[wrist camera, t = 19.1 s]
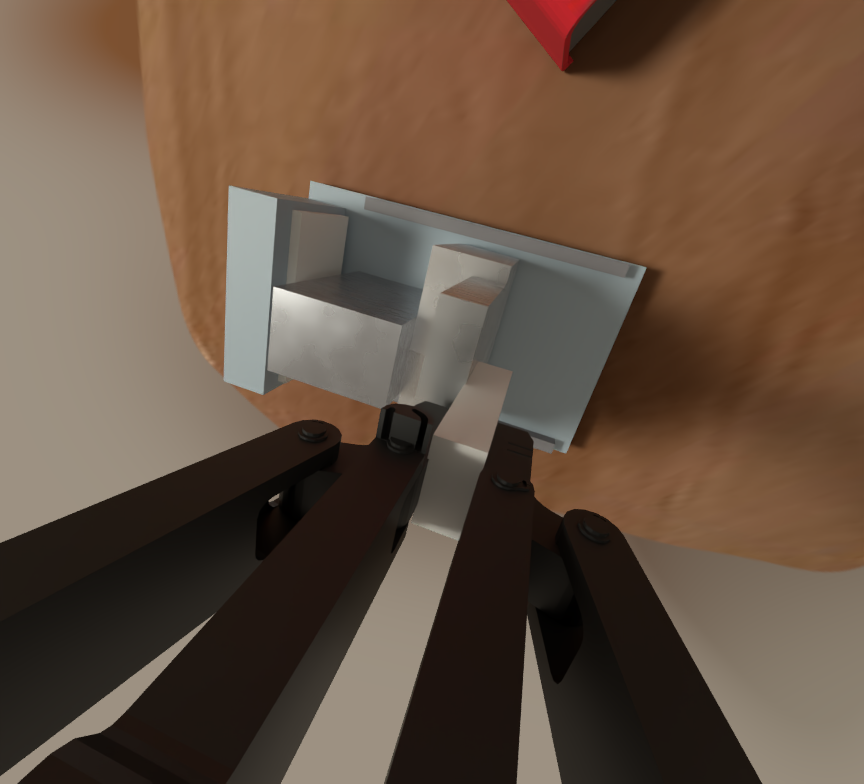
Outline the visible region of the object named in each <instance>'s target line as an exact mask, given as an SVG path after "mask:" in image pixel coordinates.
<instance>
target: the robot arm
mask: <svg viewBox="0 0 864 784" xmlns="http://www.w3.org/2000/svg"><path fill="white" fill-rule="evenodd" d="M512 372H513V371H510V370H506V369H503V368H499V367H496V366H493V365H489V364H486V363H482V362H479V361H478V363H477V364H476V366H475V368H474V370H473V372H472V374H471V375H470V377H469V379H468V381H467V383H466V385H465V384H464V385H463V387H462V389H461V390H460V392H459V394H458V395H457V397H456V398H455V400H454V402H453V403H452V405H451V407H450V408H447V407H444V406H441V405H438V404H435V403H431V402H428V401H424V402H422V403H419V404H416V405H415V406H411V405H407V404H390V405H386V406H384V407H382V408H381V412H380V418H379V423H378V428H377V434H376V438H375V439H374V440H373V441H372V442H371V443H370V444H369V445H355V444H348V443H341V436H342V435H341V433H340V431H339V429H338V428H336V427H335V426H334V425H332V424H329V423H326V422H324V421H320V420H319V421H318V420H302V421H298V422H295V423H292V424H289V425H287V426H285V427H282V428H280V429H277V430H275V431H273V432H270V433H268V434H265V435H263V436H260V437H258V438H255V439H253V440H251V441H248V442H246V443H244V444H241V445H238V446H236V447H233V448H231V449H228V450H226V451H224V452H221V453H219V454H216V455H214V456H212V457H209V458H207V459H204V460H202V461H199V462H197V463H194V464H192V465H189V466H187V467H185V468H182V469H180V470H177V471H175V472H172V473H170V474H168V475H165V476H163V477H160V478H158V479H155V480H153V481H150V482H148V483H146V484H143V485H141V486H138V487H136V488H133V489H131V490H128V491H126V492H124V493H121V494H119V495H116V496H114V497H112V498H109V499H107V500H104V501H102V502H99V503H97V504H94V505H92V506H89V507H87V508H85V509H82V510H80V511H77V512H75V513H72V514H70V515H68V516H65V517H63V518H61V519H58V520H56V521H53V522H50V523H48V524H46V525H43V526H41V527H38V528H36V529H34V530H31V531H29V532H27V533H24V534H22V535H19V536H16V537H14V538H11V539H9V540H7V541H4V542H2V543H0V776H1V775H2V774H4V773H5V772H6V771H7V770H9V769H10V768H12V767H13V766H14V765H16V764H17V763H18V762H19V761H21V760H22V759H23V758H25V757H26V756H27V755H29V754H30V753H31V752H32V751H34V750H35V749H37V748H38V747H39V746H40V745H42V744H43V743H44V742H46V741H47V740H48V739H50V738H51V737H52V736H54V735H55V734H56V733H57V732H59V731H60V730H62V729H63V728H64V727H65V726H67V725H68V724H70V723H71V722H72V721H73V720H75V719H76V718H77V717H78V716H80V715H81V714H82V713H84V712H85V711H87V710H88V709H89V708H90V707H92V706H93V705H95V704H96V703H97V702H98V701H100V700H101V699H102V698H104V697H105V696H106V695H108V694H109V693H110V692H112V691H113V690H114V689H116V688H117V687H118V686H120V685H121V684H122V683H124V682H125V681H126V680H127V679H129V678H130V677H131V676H133V675H134V674H135V673H137V672H138V671H139V670H141V669H142V668H143V667H144V666H146V665H147V664H149V663H150V662H151V661H152V660H154V659H155V658H157V657H158V656H159V655H160V654H162V653H163V652H164V651H166V650H167V649H168V648H170V647H171V646H172V645H174V644H175V643H176V642H178V641H179V640H180V639H182V638H183V637H184V636H185V635H187V634H188V633H189V632H191V631H192V630H193V629H195V628H196V627H197V626H199V625H200V624H201V623H203V622H204V621H205V620H207V619H208V618H209V617H211V616H212V615H213V614H214V615H213V617H212V618H211V619H210V620H209V621H208V622H207V623H206V624H205V625H204V627H203V628H202V629H201V630H200V631H199V632H198V633H197V634H196V635H195V636H194V637H193V639H192V640H191V641H190V642H189V643H188V644H187V645H186V646H185V647H184V648H183V650H182V651H181V652H180V653H179V654H178V655H177V656H176V657H175V658H174V659H173V660H172V662H171V663H170V664H169V665H168V666H167V667H166V668H165V669H164V671H162V673H161V674H160V675H159V676H158V677H157V678H156V679H155V681H153V682H152V684H151V685H150V686H149V687H148V688H147V689H146V690H145V691H144V693H142V695H141V696H140V697H139V698H138V699H137V700H136V701H135V702H134V703H133V705H132V706H131V707H130V708H129V709H128V710H127V711H126V712H125V713H124V714H123V715H122V716H121V717H120V718H119V719H118V720H117V721H116V722H115V723H114V724H113V725H112V726H110V727H108V728H107V729H105V730H104V731H102V732H101V733H98V734H94V735H89V736H84V737H79V738H75V739H73V740H72V741H70V742H68V743H67V744H65V745H64V746H62V747H60V748H59V749H57V750H56V751H54V752H52V753H51V754H50V755H49V756H47V757H46V758H45V759H44V760H43V761H42V762H41V763H40V764H38V765H37V766H36V767H35V768H34V769H33V770H32V771H31V772H30V773H28V774H27V775H26V776H25V777H24V778H23V779H22V780H21V781H20V782H19V783H18V784H281V782H282V780H283V778H284V776H285V774H286V772H287V770H288V768H289V766H290V764H291V762H292V760H293V758H294V756H295V754H296V752H297V750H298V748H299V746H300V744H301V742H302V740H303V738H304V736H305V734H306V732H307V730H308V728H309V726H310V724H311V722H312V720H313V718H314V716H315V714H316V712H317V710H318V708H319V706H320V704H321V702H322V700H323V698H324V696H325V694H326V692H327V690H328V688H329V687H330V685H331V682H332V681H333V679H334V677H335V675H336V673H337V671H338V669H339V667H340V665H341V662H342V661H343V659H344V657H345V655H346V653H347V651H348V649H349V647H350V645H351V643H352V641H353V639H354V637H355V635H356V633H357V631H358V629H359V627H360V625H361V623H362V621H363V619H364V617H365V615H366V613H367V611H368V609H369V607H370V605H371V603H372V601H373V599H374V597H375V595H376V593H377V591H378V589H379V587H380V585H381V583H382V581H383V580H384V578H385V576H386V574H387V572H388V570H389V568H390V565H391V563H392V562H393V560H394V558H395V556H396V554H397V552H398V550H399V548H400V546H401V544H402V542H403V540H404V538H405V535H406V531H407V527H408V523H409V520H410V518H411V516H412V514H413V512H414V514H413V518H412V522H411V523H413V524H415V525H418V526H421V527H423V528H426V529H428V530H431V531H434V532H437V533H439V534H442V535H445V536H448V537H450V538H452V539H455V540H458V544H457V547H456V550H455V554H454V557H453V560H452V563H451V566H450V569H449V573H448V576H447V580H446V583H445V586H444V589H443V593H442V596H441V599H440V603H439V606H438V609H437V613H436V616H435V619H434V623H433V625H432V629H431V632H430V636H429V639H428V642H427V646H426V648H425V652H424V655H423V658H422V661H421V665H420V668H419V672H418V674H417V678H416V681H415V684H414V688H413V691H412V694H411V697H410V701H409V704H408V707H407V710H406V714H405V717H404V720H403V724H402V727H401V730H400V733H399V737H398V740H397V743H396V746H395V750H394V753H393V756H392V760H391V763H390V766H389V769H388V773H387V776H386V779H385V782H384V784H516V783H517V782H516V781H517V766H518V750H519V734H520V718H521V702H522V686H523V670H524V654H525V653H524V652H525V638H526V637H525V636H526V621H527V616H528V620H529V625H530V630H531V635H532V640H533V645H534V650H535V655H536V659H537V665H538V669H539V674H540V679H541V684H542V689H543V693H544V699H545V703H546V708H547V713H548V718H549V723H550V728H551V733H552V738H553V743H554V748H555V752H556V757H557V762H558V767H559V772H560V777H561V782H562V784H762V782H761V781H760V779H759V777H758V775H757V774H756V772H755V770H754V768H753V766H752V765H751V763H750V761H749V759H748V757H747V756H746V754H745V752H744V750H743V748H742V747H741V745H740V743H739V741H738V739H737V738H736V736H735V734H734V732H733V731H732V729H731V727H730V725H729V723H728V722H727V720H726V718H725V717H724V715H723V713H722V711H721V709H720V707H719V706H718V704H717V702H716V700H715V698H714V697H713V695H712V693H711V691H710V689H709V687H708V686H707V684H706V682H705V680H704V679H703V677H702V675H701V673H700V672H699V670H698V668H697V666H696V664H695V662H694V661H693V659H692V657H691V655H690V654H689V652H688V650H687V648H686V646H685V644H684V643H683V641H682V639H681V637H680V636H679V634H678V632H677V630H676V628H675V627H674V625H673V623H672V621H671V619H670V618H669V616H668V614H667V612H666V611H665V609H664V607H663V605H662V603H661V601H660V600H659V598H658V596H657V594H656V593H655V591H654V589H653V587H652V585H651V583H650V582H649V580H648V578H647V576H646V575H645V573H644V571H643V569H642V567H641V566H640V564H639V562H638V561H637V558H636V557H635V555H634V553H633V551H632V549H631V548H630V546H629V544H628V543H627V540H626V539H625V537H624V535H623V534H622V533H621V532H620V530H619V529H618V528H617V527H616V526H615V525H614V524H612V523H611V522H610V521H609V520H608V519H606V518H604V517H603V516H600V515H599V514H597V513H594V512H590V511H587V510H581V509H573V510H570V511H567V513H566V514H565V515H564V517H561V516H559V515H557V514H555V513H554V512H552V511H550V510H549V509H547V508H546V507H544V506H543V505H542V504H541V503H540V502H539V501H537V499H536V498H535V497H534V492H535V491H534V487H533V484H532V483H531V482H530V477H531V466H532V455H533V444H534V441H533V439H532V438H531V436H530V435H529V433H528V432H526V431H523V430H520V429H517V428H514V427H511V426H507V425H504V424H501V423H498V419H499V415H500V412H501V409H502V405H503V402H504V399H505V396H506V392H507V389H508V386H509V382H510V379H511V376H512ZM277 494H279V498H278V499H276V500H274V501H272V502H269V501H268V500H270V499H271V498H272V497H274V496H275V495H277Z"/></svg>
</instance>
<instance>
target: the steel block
mask: <svg viewBox="0 0 864 784" xmlns="http://www.w3.org/2000/svg"><path fill="white" fill-rule="evenodd" d="M422 292H423V289H420V288H416V287H413V286H409V285H406V284H402V283H399V282H395V281H392V280H388V279H385V278H381V277H378V276H374V275H371V274H367V273H364V272H360V271H357V272H351V273H345V274H340V275H334V276H329V277H323V278H318V279H312V280H307V281H301V282H296V283H290V284H285V285H279V286H273V299H272V313H271V327H270V340H269V354H268V368H267V370H268V371H271V372H274V373H277V374H280V375H283V376H286V377H289V378H292V379H295V380H298V381H301V382H304V383H306V384H309V385H312V386H315V387H318V388H321V389H324V390H327V391H330V392H333V393H336V394H339V395H342V396H345V397H348V398H351V399H354V400H357V401H360V402H363V403H366V404H369V405H372V406H374V407H377V408H380V409H381V408H382V407H384V406H386V405H389V404H390V403H391V402H392V401H393V400H394V399H395V398H396V397H397V396H398V395H399V394H400V391H401V387H402V382H403V377H404V373H405V368H406V364H407V359H408V355H409V350H410V346H411V341H412V337H413V332H414V328H415V323H416V319H417V314H418V310H419V305H420V301H421V296H422Z"/></svg>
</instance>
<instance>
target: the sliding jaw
mask: <svg viewBox="0 0 864 784" xmlns="http://www.w3.org/2000/svg"><path fill="white" fill-rule="evenodd" d="M519 261H520V259H519V258H515V257H511V256H507V255H504V254H500V253H496V252H492V251H489V250H485V249H481V248H477V247H474V246H470V245H466V244H462V243H455V244H440V245H433V246H432V251H431V256H430V260H429V265H428V269H427V274H426V278H425V283H424V287H423V292H422V296H421V301H420V305H419V310H418V314H417V319H416V323H415V328H414V332H413V337H412V341H411V346H410V350H409V355H408V359H407V364H406V368H405V373H404V377H403V382H402V387H401V391H400V395H399V400H398V404H407V405H411V406H415V405H416V404H419V403H422V402H424V401H428V402H431V403H435V404H438V405H441V406H444V407H447V408H450V407H451V405H452V403H453V402H454V400H455V398H456V397H457V395H458V394H459V392H460V390H461V389H462V387H463V385H464V384H465V385H466V383H467V381H468V379H469V377H470V375H471V374H472V372H473V370H474V368H475V366H476V364H477V363H478V361H479V362H482V363H486V364H488V361H489V358H490V355H491V352H492V348H493V345H494V342H495V339H496V335H497V332H498V329H499V326H500V322H501V319H502V316H503V313H504V309H505V306H506V303H507V300H508V297H509V293H510V290H511V287H512V284H513V280H514V277H515V274H516V271H517V267H518V264H519Z"/></svg>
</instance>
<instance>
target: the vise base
mask: <svg viewBox="0 0 864 784" xmlns="http://www.w3.org/2000/svg"><path fill="white" fill-rule="evenodd" d="M455 243H462V244H466V245H470V246H474V247H477V248H481V249H485V250H489V251H492V252H496V253H500V254H504V255H507V256H511V257H515V258H519V259H520V261H519V264H518V267H517V271H516V274H515V277H514V280H513V284H512V287H511V290H510V293H509V297H508V300H507V303H506V306H505V309H504V313H503V316H502V319H501V322H500V326H499V329H498V332H497V335H496V339H495V342H494V345H493V348H492V352H491V355H490V358H489V361H488V364H489V365H493V366H496V367H499V368H503V369H506V370H510V371H513V372H512V376H511V379H510V382H509V386H508V389H507V392H506V396H505V399H504V402H503V405H502V409H501V412H500V415H499V419H498V423H501V424H504V425H507V426H511V427H514V428H517V429H520V430H523V431H526V432H528V433H529V435H530V436H531V438H532V439H533V441H534V444H533V448H536V449H539V450H542V451H545V452H548V453H552V451H553V449H554V450H557V451H560V452H563V453H566V452H567V450H568V448H569V446H570V443H571V441H572V439H573V436H574V434H575V432H576V429H577V427H578V425H579V422H580V420H581V418H582V416H583V413H584V411H585V409H586V406H587V404H588V402H589V399H590V397H591V395H592V392H593V390H594V388H595V386H596V383H597V381H598V379H599V376H600V374H601V372H602V369H603V367H604V365H605V363H606V360H607V358H608V356H609V353H610V351H611V349H612V346H613V344H614V342H615V339H616V337H617V335H618V333H619V330H620V328H621V326H622V323H623V321H624V319H625V316H626V314H627V312H628V309H629V307H630V305H631V303H632V300H633V298H634V296H635V293H636V291H637V289H638V286H639V284H640V282H641V280H642V277H643V275H644V273H645V270H646V268H647V267H643V266H640V265H636V264H632V263H628V262H624V261H620V260H616V259H613V258H609V257H605V256H601V255H597V254H593V253H589V252H585V251H582V250H578V249H574V248H570V247H566V246H562V245H558V244H554V243H551V242H547V241H543V240H539V239H535V238H531V237H527V236H523V235H519V234H516V233H512V232H508V231H504V230H500V229H496V228H492V227H488V226H485V225H481V224H477V223H473V222H469V221H465V220H461V219H457V218H454V217H450V216H446V215H442V214H438V213H434V212H430V211H426V210H423V209H419V208H415V207H411V206H407V205H403V204H399V203H395V202H391V201H388V200H384V199H380V198H376V197H372V196H368V195H364V194H360V193H357V192H353V191H349V190H345V189H341V188H337V187H333V186H329V185H326V184H322V183H317V182H313V181H310V192H309V199H308V198H302V197H296V196H290V195H284V194H278V193H271V192H265V191H259V190H253V189H247V188H241V187H235V186H229V203H228V241H227V279H226V316H225V354H224V381H225V382H228V383H231V384H234V385H236V386H239V387H242V388H245V389H248V390H251V391H254V392H256V393H259V394H262V395H264V394H266V393H268V392H269V391H271V390H273V389H275V388H277V387H278V386H280V385H282V384H284V383H287V382H289V381H291V380H293V379H292V378H289V377H286V376H283V375H280V374H277V373H274V372H271V371H268V370H267V368H268V354H269V340H270V327H271V313H272V299H273V286H279V285H285V284H290V283H296V282H301V281H307V280H312V279H318V278H323V277H329V276H334V275H340V274H345V273H351V272H357V271H360V272H364V273H367V274H371V275H374V276H378V277H381V278H385V279H388V280H392V281H395V282H399V283H402V284H406V285H409V286H413V287H416V288H420V289H423V287H424V283H425V278H426V274H427V269H428V265H429V260H430V256H431V251H432V246H433V245H440V244H455ZM399 395H400V394H399ZM399 395H398V396H397V397H396V398H395V399H394V400H393V401H395V402H398V400H399Z"/></svg>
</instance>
